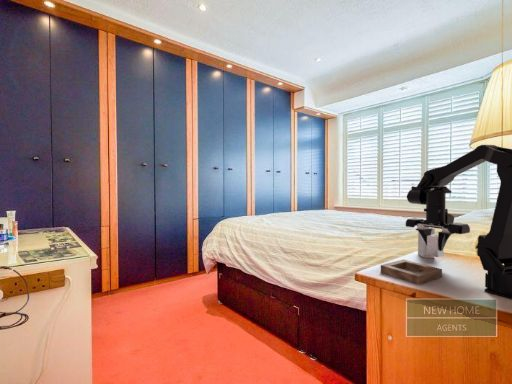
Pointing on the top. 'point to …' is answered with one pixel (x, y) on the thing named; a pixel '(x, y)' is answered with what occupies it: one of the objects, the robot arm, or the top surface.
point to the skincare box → (423, 245)
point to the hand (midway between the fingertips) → (435, 249)
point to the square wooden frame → (423, 276)
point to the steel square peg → (433, 246)
